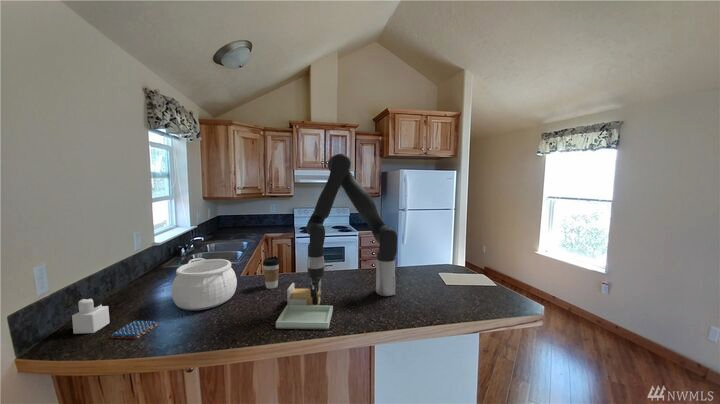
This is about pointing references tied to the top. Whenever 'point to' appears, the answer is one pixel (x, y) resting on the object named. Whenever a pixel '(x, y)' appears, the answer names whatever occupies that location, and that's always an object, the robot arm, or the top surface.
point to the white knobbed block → (90, 315)
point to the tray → (305, 317)
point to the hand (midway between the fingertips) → (316, 301)
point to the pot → (203, 284)
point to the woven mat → (134, 329)
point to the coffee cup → (271, 272)
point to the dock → (294, 301)
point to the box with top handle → (305, 295)
